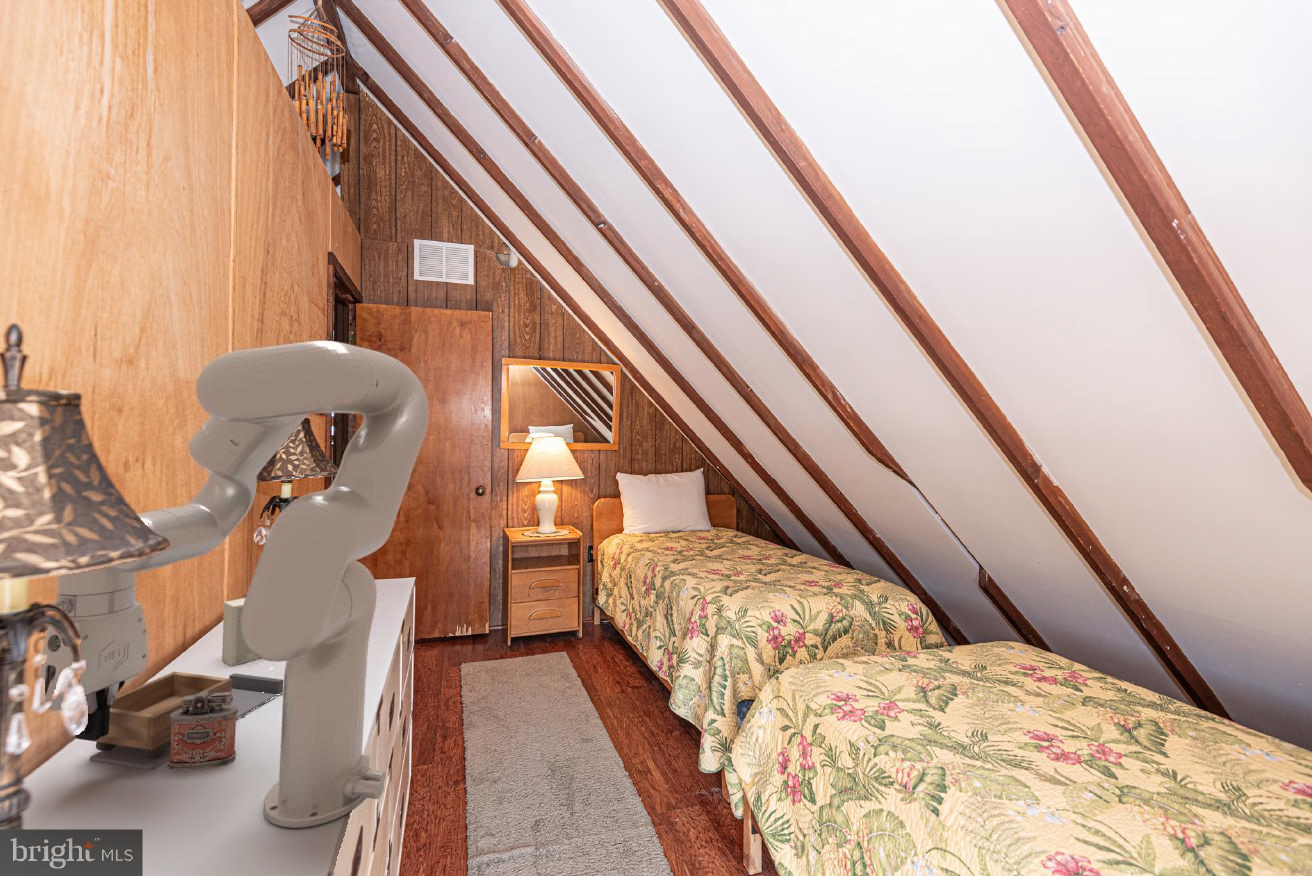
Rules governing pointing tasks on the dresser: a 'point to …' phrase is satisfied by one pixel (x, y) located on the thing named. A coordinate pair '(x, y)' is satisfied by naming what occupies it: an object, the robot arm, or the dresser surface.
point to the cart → (154, 711)
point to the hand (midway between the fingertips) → (91, 736)
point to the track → (244, 697)
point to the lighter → (203, 732)
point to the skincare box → (234, 635)
